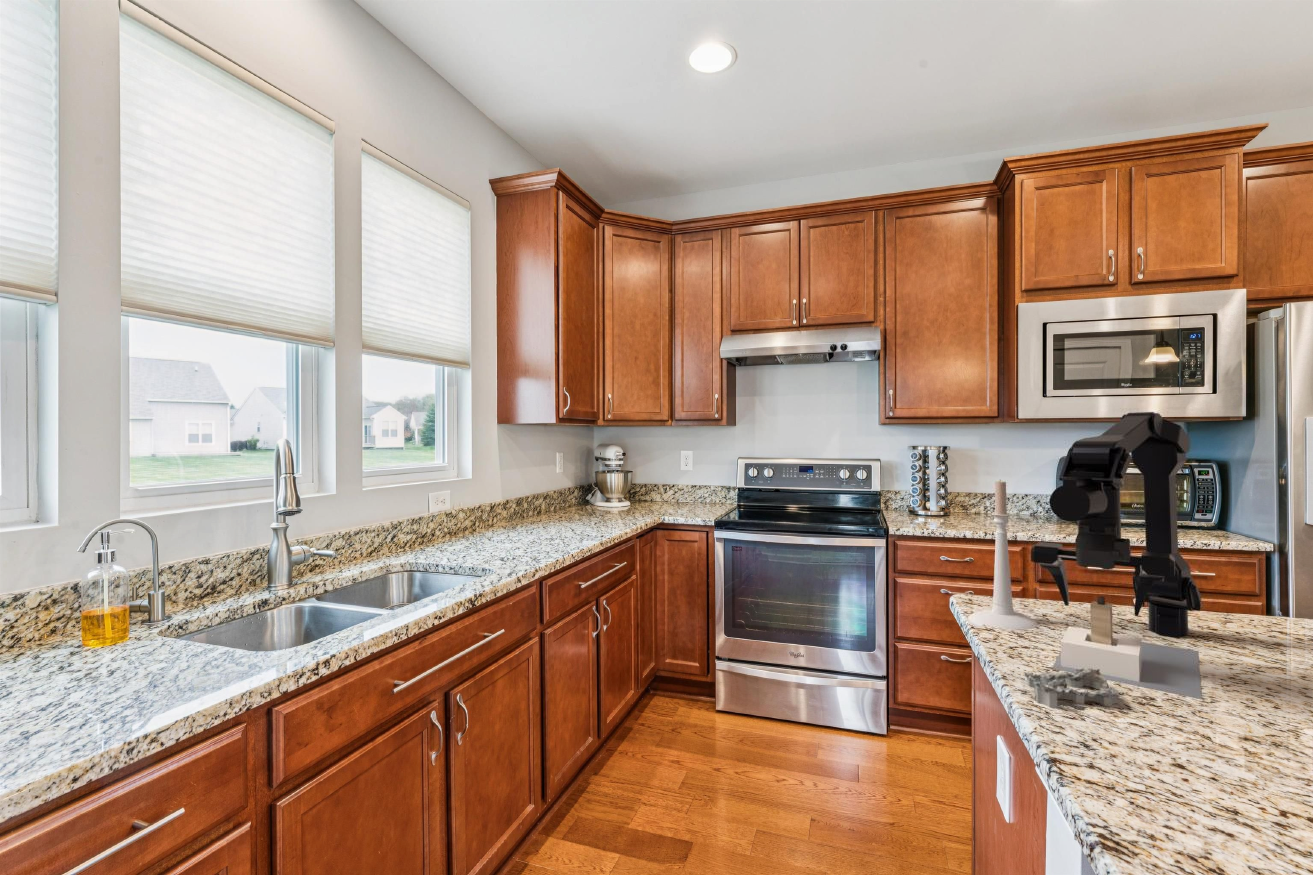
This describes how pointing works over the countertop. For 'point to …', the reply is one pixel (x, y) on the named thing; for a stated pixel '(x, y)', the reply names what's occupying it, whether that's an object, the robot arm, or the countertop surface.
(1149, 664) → the board
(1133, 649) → the holder
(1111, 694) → the egg carton
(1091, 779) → the countertop surface
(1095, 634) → the peg
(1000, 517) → the candlestick
